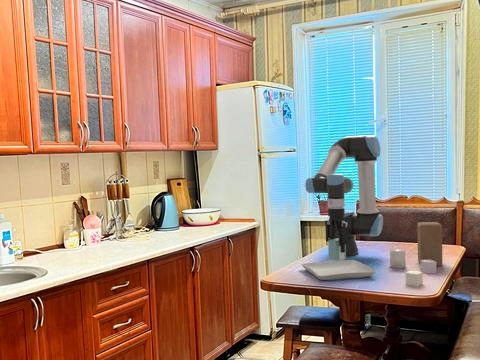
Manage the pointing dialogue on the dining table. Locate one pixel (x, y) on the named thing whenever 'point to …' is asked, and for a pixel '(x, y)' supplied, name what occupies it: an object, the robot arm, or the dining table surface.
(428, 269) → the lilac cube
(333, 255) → the teal block
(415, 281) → the cream cube
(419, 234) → the block
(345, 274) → the square plate
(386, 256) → the dining table surface
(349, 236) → the robot arm
